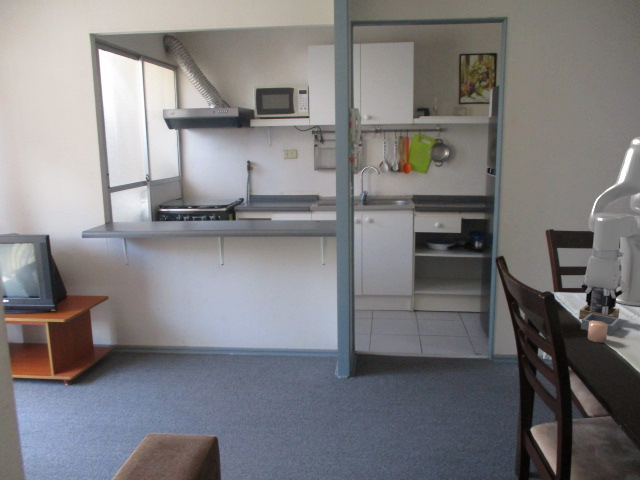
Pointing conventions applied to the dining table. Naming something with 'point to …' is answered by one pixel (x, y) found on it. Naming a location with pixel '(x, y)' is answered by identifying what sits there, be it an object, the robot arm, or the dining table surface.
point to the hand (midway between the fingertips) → (600, 306)
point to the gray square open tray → (612, 322)
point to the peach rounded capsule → (597, 331)
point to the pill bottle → (600, 300)
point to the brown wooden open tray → (586, 311)
